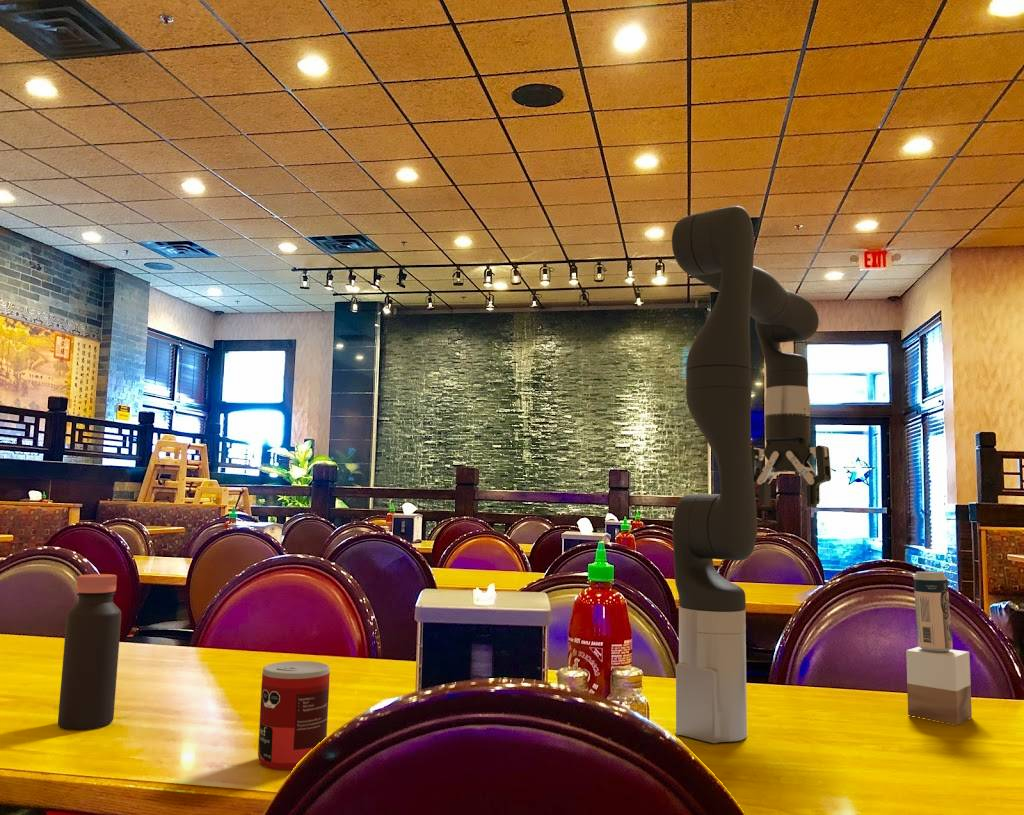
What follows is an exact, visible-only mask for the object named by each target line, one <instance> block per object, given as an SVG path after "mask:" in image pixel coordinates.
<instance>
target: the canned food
mask: <svg viewBox="0 0 1024 815" xmlns="http://www.w3.org/2000/svg"><path fill="white" fill-rule="evenodd" d="M262 669H263V670H262V673H261V674H262V676H261V688H260V689H261V690H260V706H259V707H260V708H259V709H260V710H259V726H258V730H259V731H258V745H257V746H258V748H257V749H258V751H257V758H258V762H259V764H260V766H262V767H264V768H267V769H269V768H270V770H277V771H293V770H292V769H293V768H294V767H295V766H296V764H297V763H298V762H299V761H300V760H301V759H302V758H303V757H304V756H305V755H306V754H307V753H308V752H309V751H310V750H311V749H313V748H314V747H315V746H316V745H317V744H318V743H319V742H321V741H322V740H323V739H324V738H325V737H327V736H328V735H327V733H328V717H329V716H328V715H329V713H328V712H329V696H330V674H331V673H330V665H328V664H327V663H323V662H319V661H318V662H317V661H310V660H309V661H308V660H307V661H306V660H289V661H281V662H280V661H279V662H273V663H270V664H267V665H265V666H264V667H263V668H262Z"/></svg>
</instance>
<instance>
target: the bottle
mask: <svg viewBox="0 0 1024 815" xmlns="http://www.w3.org/2000/svg"><path fill="white" fill-rule="evenodd" d="M76 581H77V582H76V592H77V593H76V596H77V597H78V599H77V600H78V601H77V603H76V604H75V605H74V606H73V607H72V608H71V609H70V610H69V611H68V612H67V614H66V618H65V629H64V630H65V632H64V644H63V657H62V665H61V666H62V667H61V668H62V669H61V670H62V671H61V682H60V692H59V703H58V715H57V726H58V727H59V729H62V730H67V731H68V730H69V731H89V730H94V729H99V728H102V727H105V726H108V725H111V724H112V722H113V721H114V717H115V702H116V691H117V690H116V689H117V679H118V678H117V676H118V663H119V651H120V650H119V649H120V639H121V638H120V636H121V627H122V626H121V625H122V610H121V609H120V608H119V607H118V606H117V605H116V603H115V602H114V601H113V600H114V599H113V598H114V596H115V595H116V593H115V592H116V591H117V581H118V576H117V575H116V574H111V573H110V574H109V573H106V574H105V573H95V574H82V575H78V576H77V580H76Z"/></svg>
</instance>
